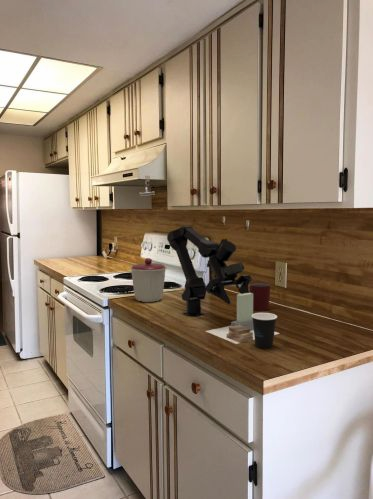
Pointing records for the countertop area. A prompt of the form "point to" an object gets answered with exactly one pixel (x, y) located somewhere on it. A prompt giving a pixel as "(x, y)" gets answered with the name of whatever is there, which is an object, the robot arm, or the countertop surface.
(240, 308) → the green board
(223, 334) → the white flat slab
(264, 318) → the dixie cup
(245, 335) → the offcut stack
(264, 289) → the mug
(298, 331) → the countertop surface
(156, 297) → the canister
